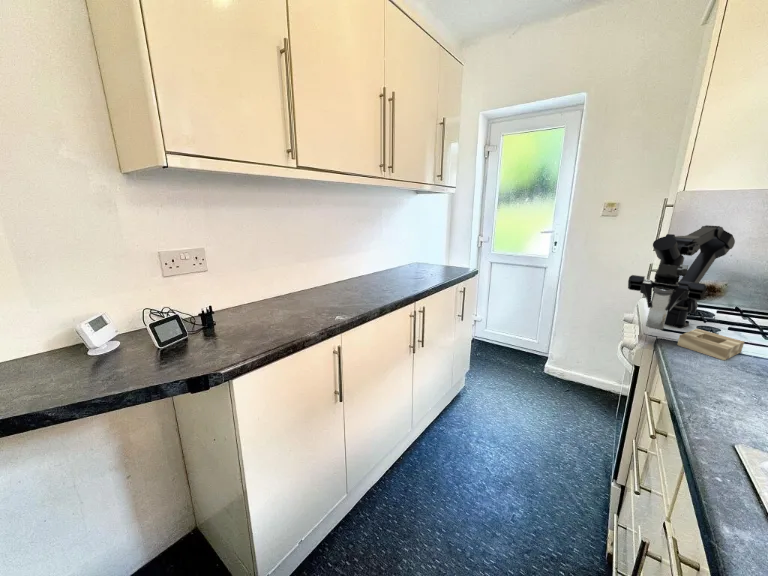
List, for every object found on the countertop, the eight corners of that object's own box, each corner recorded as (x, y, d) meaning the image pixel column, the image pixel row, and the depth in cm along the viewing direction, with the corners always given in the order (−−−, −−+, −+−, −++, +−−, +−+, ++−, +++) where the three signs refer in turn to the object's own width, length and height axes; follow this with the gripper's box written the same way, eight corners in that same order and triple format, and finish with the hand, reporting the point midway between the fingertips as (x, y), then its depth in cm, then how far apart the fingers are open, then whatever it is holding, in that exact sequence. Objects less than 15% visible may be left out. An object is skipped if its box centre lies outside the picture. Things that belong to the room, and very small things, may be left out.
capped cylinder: (655, 323, 104) (664, 286, 101) (668, 329, 100) (678, 290, 96) (640, 323, 105) (649, 286, 101) (653, 330, 100) (662, 291, 96)
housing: (694, 338, 105) (697, 328, 104) (741, 352, 95) (744, 341, 94) (677, 345, 100) (679, 335, 99) (724, 360, 90) (727, 349, 90)
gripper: (634, 251, 105) (622, 290, 100) (714, 257, 92) (704, 302, 88) (634, 270, 112) (622, 307, 108) (707, 278, 99) (697, 320, 95)
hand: (658, 308), depth 99 cm, fingers closed on capped cylinder, 4 cm apart
